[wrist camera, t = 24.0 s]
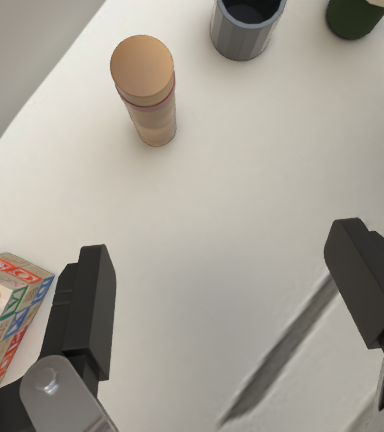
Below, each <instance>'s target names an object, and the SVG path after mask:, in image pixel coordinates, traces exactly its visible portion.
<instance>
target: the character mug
mask: <svg viewBox="0 0 384 432" xmlns="http://www.w3.org/2000/svg"><path fill="white" fill-rule="evenodd" d="M327 13H328V19H329V24H330V25H331V26H332V28H333V29H334V31H335V32H336V33H337V34H339V35H341V36H343V37H345V38H360V37H362V36H364V35H366V34H368V33H370V32H371V30H372V29H373V28H374V27H375V25H376V24H377V23H378V22H379V20H380V19H381V18H382V17H383V15H384V0H330V1H329V5H328V9H327Z"/></svg>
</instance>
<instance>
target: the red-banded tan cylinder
mask: <svg viewBox="0 0 384 432" xmlns="http://www.w3.org/2000/svg"><path fill="white" fill-rule="evenodd" d="M110 71H111V75H112V78H113V80H114V82H115V86H116V89H117V91H118V93H119V95H120V97H121V99H122V100H123V102H124V104H125V106H126V108H127V110H128V112H129V114H130V117H131V119H132V121H133V123H134V125H135V127H136V129H137V132H138V134H139V136H140V137H141V139H142V140H143V141H144V142H145V143H147V144H149V145H152V146H162V145H165V144H167V143H168V142H170V141H171V140H172V138H173V137H174V135H175V133H176V108H175V72H174V65H173V59H172V56H171V53H170V52H169V50H168V48H167V47H166V46H165V45H164V44H163V43H162V42H161V41H159V40H158V39H156V38H154V37H151V36H147V35H136V36H132V37H129V38H127V39H125V40H124V41H122V42H121V43H120V44H119V45H118V46H117V47H116V49H115V50H114V52H113V54H112V57H111V61H110Z"/></svg>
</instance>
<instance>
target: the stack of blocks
mask: <svg viewBox="0 0 384 432" xmlns="http://www.w3.org/2000/svg"><path fill="white" fill-rule="evenodd" d="M53 278H54V275H53V274H51V273H49V272H47V271H45V270H42V269H40V268H38V267H36V266H34V265H32V264H31V263H29V262H27V261H25V260H23V259H21V258H19V257H17V256H15V255H12V254H10V253H2V254H0V383H1V381H2V379H3V377H4V375H5V373H6V369H7V367H8V365H9V363H10V361H11V359H12V357H13V355H14V353H15V351H16V349H17V346H18V344H19V342H20V341H21V339H22V337H23V335H24V333H25V331H26V329H27V327H28V325H29V324H30V323H31V321H32V319H33V318H34V316H35V314H36V312H37V310H38V308H39V306H40V304H41V302H42V299H43V297H44V296H45V294H46V292H47V290H48V288H49V286H50V284H51V282H52V280H53Z"/></svg>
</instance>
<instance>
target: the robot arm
mask: <svg viewBox="0 0 384 432" xmlns="http://www.w3.org/2000/svg"><path fill="white" fill-rule="evenodd" d="M324 259H325V262H326V265H327V267H328V269H329V271H330V273H331V275H332V277H333V279H334V281H335V283H336V285H337V287H338V289H339V291H340V293H341V295H342V297H343V299H344V301H345V303H346V305H347V307H348V309H349V312H350V314H351V316H352V318H353V320H354V322H355V324H356V326H357V328H358V330H359V332H360V334H361V336H362V338H363V340H364V342H365V344H366V346H367V348H368V349H376V348H382V350H383V352H384V237H383V236H381V235H380V234H379V233H377V232H376V231H368V229H367V228H366V226H365V225H364V223H363V222H362V220H361V219H359V218H348V219H339V220H335V221H334V222H333V224H332V226H331V229H330V232H329V235H328V238H327V241H326V244H325V247H324ZM115 297H116V274H115V270H114V267H113V264H112V262H111V259H110V256H109V253H108V250H107V248H106V246H105V244H102V245H92V246H83V247H82V248H81V250H80V255H79V260H78V263H71V264H67V266H66V267H65V269H64V270H63V271H62V273H61V274H60V276H59V277H58V281H57V286H56V290H55V295H54V298H53V302H52V304H53V306H52V307H51V311H50V315H49V319H48V323H47V327H46V332H45V336H44V340H43V344H42V348H41V352H40V355H39V357H38V359H37V361H36V362H35V363H34V364H33V365H32V366H31V367H30V368H29V369H28V370H27V372H26V373H25V375H24V376H22V377H21V378H19V379H18V380H16V381H14V382H12V383H10V384H8V385H6V386H4V387H1V388H0V432H119V430H118V429H117V427H116V426H115V424H114V423H113V421H112V419H111V418H110V416H109V415H108V413H107V412H106V410H105V409H104V407H103V406H102V404H101V403H100V401H99V400H98V398H97V392H98V383H99V381H105V380H109V370H110V358H111V346H112V334H113V322H114V310H115ZM364 432H384V358H383V361H382V366H381V371H380V376H379V381H378V386H377V390H376V395H375V400H374V405H373V410H372V413H371V416H370V419H369V421H368V423H367V425H366V427H365V430H364Z"/></svg>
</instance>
